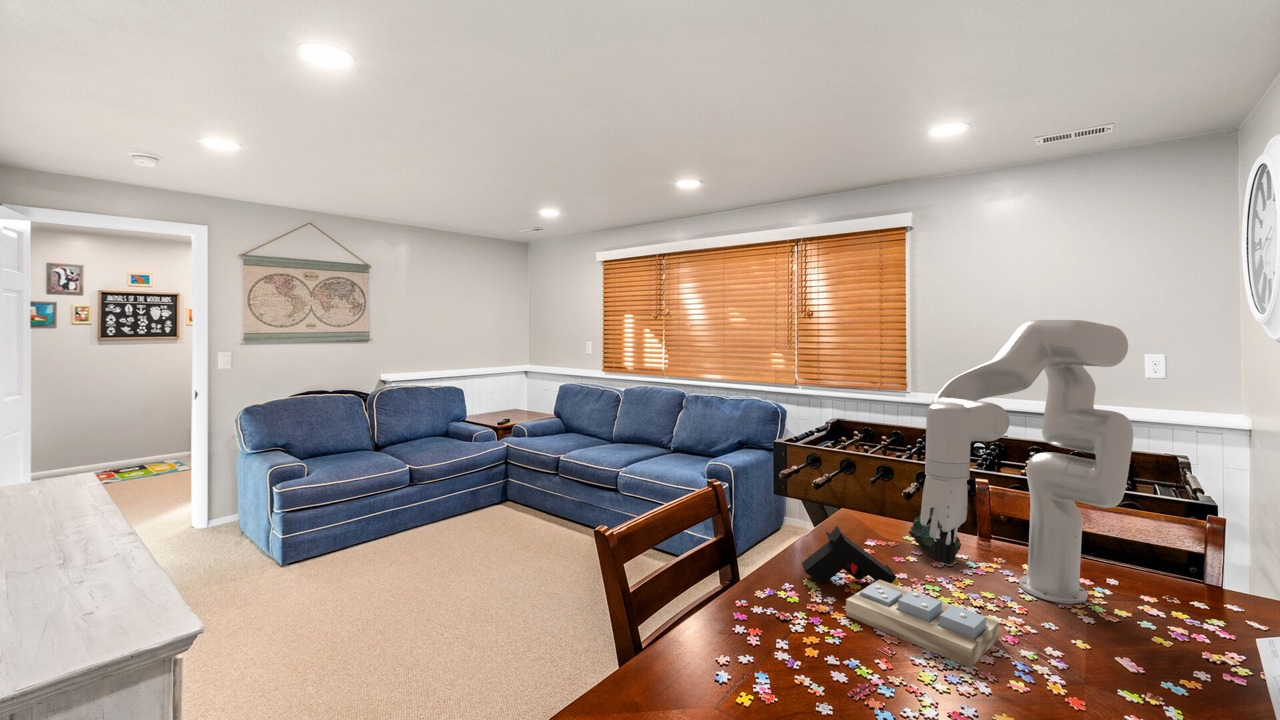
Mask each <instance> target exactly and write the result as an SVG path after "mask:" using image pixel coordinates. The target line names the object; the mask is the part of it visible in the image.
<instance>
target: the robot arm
mask: <svg viewBox="0 0 1280 720" xmlns="http://www.w3.org/2000/svg"><path fill="white" fill-rule="evenodd" d="M1128 351H1129V341H1128V338H1127V336H1126V334H1125V333H1124V331H1122V330H1121V329H1120V328H1118V327H1117V326H1113V325H1108V324H1103V323H1098V322H1094V321H1088V320H1081V319H1034V320H1030V321H1027V322H1023V324H1022V325H1020V326H1019V327H1018V328H1017V329H1016V330H1015V331H1014V333H1013V334H1012V335H1011V336H1010V337H1009V339H1008V340H1007V341H1006V342H1005V344H1003V346H1002V347H1001V348H1000V350H999V351H998V352H997V353H996V354H995V356H994V357H993V358H992V359H991V360H989V361H987V362H986V363H983V364H981V365H978V366H976V367H974V368H971V369H969V370H967V371H965V372H963V373H961V374H959V375H957V376H955V377H954V378H952V379H951V380H949V381H948V382H947V383H946V384H945V385H944V386H942V388H941V389H940V390H939V391H938V393H937V394H936V395H935V397H934V398H933V400H932V401H931V403H930V405H929V406H928V408H927V411H926V422H925V425H926V430H925V434H926V435H925V460H924V461H925V465H924V467H925V468H924V469H925V470H924V474H925V476H926V477H925V479H924V483H923V490H922V499H921V510H920V514H921V525H922V526H923V527H926V526H929V525H931V527H930V537H933V538H934V541H935V547H934V557H933V559H934V561H935V562H939V563H942V564H946V565H948V566H951V565H953V564H955V563H956V555H955V544H956V543H953V542H956V539H957V537H958V529H959V528H960V527H961V525H963V524H964V523H965V522H966V520H967V516H968V482H967V481H969V480H970V477H971V476H970V475H971V474H970V473H971V471H970V470H971V443H972V442H973V441H974V442H993V441H997V440H998V439H1000V438H1002V437H1003V436H1004V435H1005V434H1006V433H1007V431H1008V430H1009V428H1010V416H1009V414H1008V412H1007V411H1006V410H1005V408H1003V407H1002V406H1000V405H998V404H996V403H993V402H989V401H988V402H987V401H980V400H983V399H986V398H991V397H998V396H999V397H1000V396H1005V395H1010V394H1014V393H1019V392H1021V391H1024V390H1027V389H1028V388H1030V387H1031V386H1032V385H1033V383H1034V382H1035V381H1036V380H1037V378H1038V377H1039V375H1041V373H1042V372H1043V370H1044V372H1045V374H1046V377H1047V382H1048V385H1047V386H1048V387H1047V393H1046V394H1047V395H1046V401H1045V407H1044V412H1043V420H1042V425H1041V426H1042V427H1041V428H1042V429H1041V433H1042V437H1043V439H1044V441H1045V442H1046V443H1047V444H1050V445H1051V446H1055V447H1058V448H1063V449H1069V450H1074V451H1080V452H1084V453H1090V454H1095V459H1090V458H1085V457H1079V456H1075V455H1070V454H1065V453H1059V452H1051V451H1050V452H1048V451H1045V452H1039V453H1036V454H1034V455H1033V456H1031V457H1030V459H1029V460H1028V462H1027V463H1026V464H1027V466H1026V479H1027V484H1028V489H1029V490H1028V491H1029V499H1030V505H1029V506H1030V507H1029V508H1030V509H1029V512H1030V513H1029V530H1028V552H1027V553H1028V556H1027V557H1028V558H1027V574H1025V575H1022V576H1021V577H1019V579H1018V584H1019V587H1020V588H1021V589H1022V590H1023V591H1025V592H1026V593H1028V594H1029V595H1032V596H1034V597H1036V598H1039V599H1042V600H1045V601H1049V602H1053V603H1058V604H1065V605H1075V604H1074V603H1080V604H1082V603H1081V602H1083V603H1085V602H1087V601H1088V599H1087V598H1088V596H1089V595H1088V592H1087V591H1086V590H1085V589H1084V588H1083V587H1082V586H1080V577H1081V576H1080V575H1081V557H1082V556H1081V554H1082V538H1083V537H1082V536H1083V518H1082V515H1081V512H1080V509H1079V508H1078V505H1077V504H1076V503H1075V502H1078V503H1082V504H1085V505H1090V506H1095V507H1099V508H1107V509H1109V508H1114V507H1116V506H1119V504H1121V502H1122V500H1123V498H1124V495H1125V492H1126V488H1127V482H1128V476H1129V470H1130V463H1131V456H1132V450H1133V443H1134V429H1133V425H1132V423H1131V421H1130V419H1129V418H1128V416H1127V415H1124V414H1122V413H1120V412H1118V411H1114V410H1108V409H1107V410H1106V409H1098V408H1094V406H1095V405H1094V403H1095V395H1096V383H1095V381H1094V379H1093V378H1092V376H1091V374H1090V373H1089V372H1088V370H1087V369H1086V368H1085V367H1086V366H1087V367H1101V368H1112V367H1115V366H1117V365H1120V364H1121V363H1122V362H1123V360H1125V358H1126V356H1127V354H1128ZM1086 600H1087V601H1086Z"/></svg>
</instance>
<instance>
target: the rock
mask: <svg viewBox="0 0 1280 720" xmlns="http://www.w3.org/2000/svg"><path fill="white" fill-rule="evenodd" d="M930 527H931V525H929V526H926V527H923V526H922V525H921V513H920V514H919V515H918V516H917V517H915V518H914V520H913V523H912V526H910V530H909V531H908V534H909V535H910V537H911V538H914V542H915V543H916V544H918V546H919V548H920V549H921V550H923V551H925V552H926V554H927V555H928V556H930V557H931V558H934V547H935V541H934V538H933V537H930ZM953 543H956V544H955V556H956V555H957V554H958V552H959V551H960V550H961V546H962V543H961V540H960V538H959V537H958V536H957V539H956V542H953Z"/></svg>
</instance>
